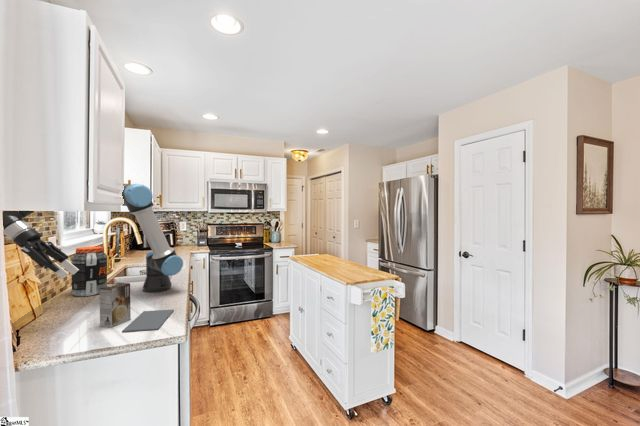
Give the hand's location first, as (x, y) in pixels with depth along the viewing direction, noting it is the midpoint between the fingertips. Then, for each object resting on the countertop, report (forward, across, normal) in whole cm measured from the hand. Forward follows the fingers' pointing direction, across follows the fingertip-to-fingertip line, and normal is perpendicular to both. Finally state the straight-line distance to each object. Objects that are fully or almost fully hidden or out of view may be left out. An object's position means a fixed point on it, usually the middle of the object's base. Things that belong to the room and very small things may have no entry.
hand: (70, 274), depth 118 cm
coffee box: (+27, 0, -4) cm, 27 cm away
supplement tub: (+3, -49, -28) cm, 56 cm away
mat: (+36, 0, +6) cm, 37 cm away
